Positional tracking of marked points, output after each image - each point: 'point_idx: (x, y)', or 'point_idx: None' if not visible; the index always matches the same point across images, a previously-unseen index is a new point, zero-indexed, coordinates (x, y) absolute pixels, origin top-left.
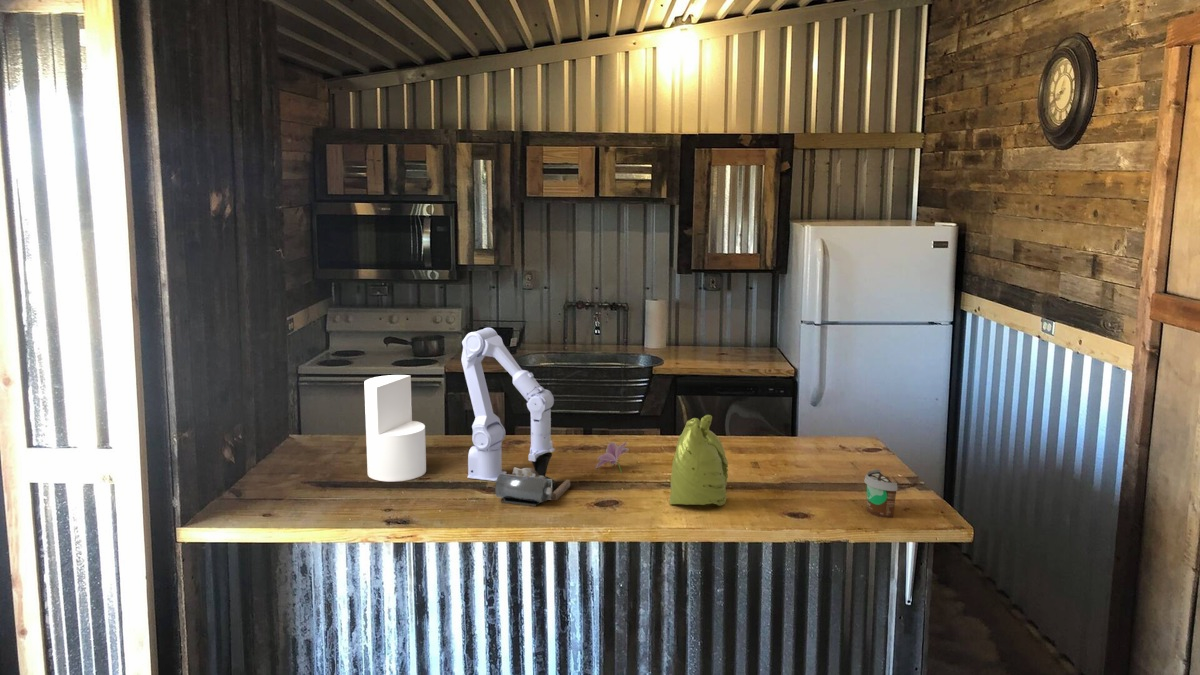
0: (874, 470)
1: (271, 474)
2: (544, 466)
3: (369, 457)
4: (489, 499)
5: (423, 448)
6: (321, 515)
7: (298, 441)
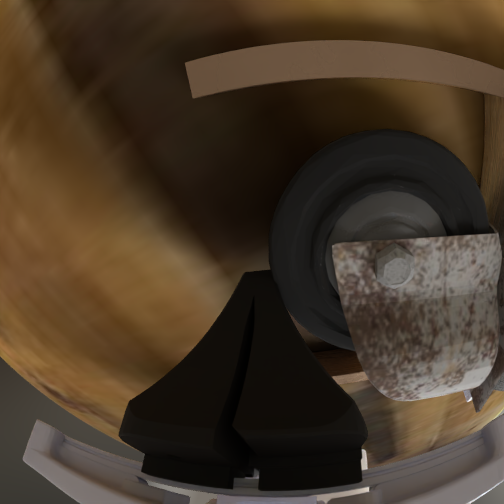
0: None
1: None
2: (306, 345)
3: None
4: None
5: (313, 495)
6: (486, 412)
7: None
